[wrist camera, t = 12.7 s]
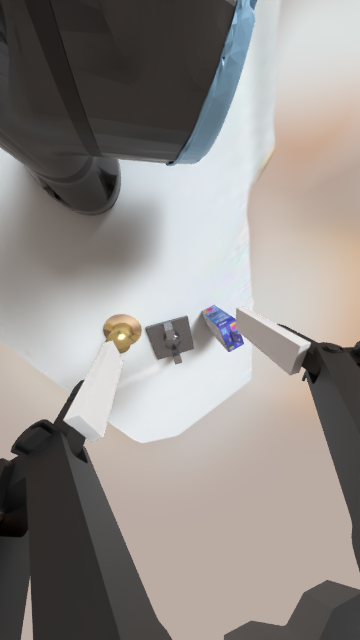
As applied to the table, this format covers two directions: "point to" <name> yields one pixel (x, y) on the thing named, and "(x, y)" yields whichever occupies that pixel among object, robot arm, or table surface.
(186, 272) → the table surface
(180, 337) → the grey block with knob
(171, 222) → the table surface
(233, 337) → the ink cartridge box
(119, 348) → the bell
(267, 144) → the table surface
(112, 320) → the coaster
